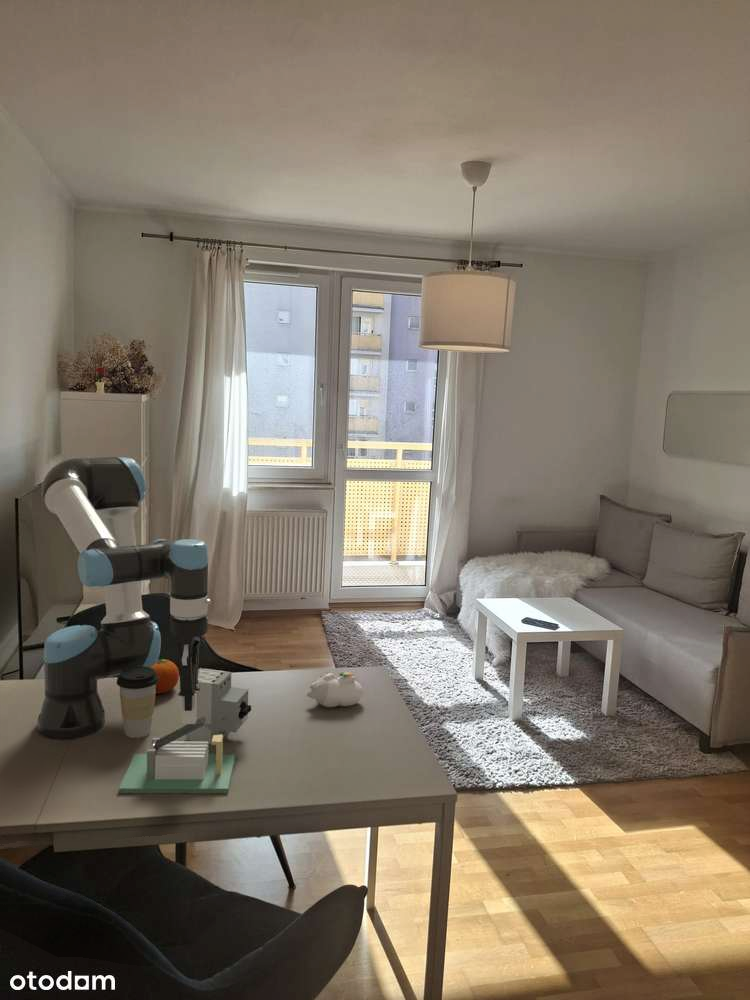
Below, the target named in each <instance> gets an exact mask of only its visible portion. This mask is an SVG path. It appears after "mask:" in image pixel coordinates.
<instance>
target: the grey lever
mask: <svg viewBox="0 0 750 1000" xmlns="http://www.w3.org/2000/svg"><path fill="white" fill-rule="evenodd" d="M205 720H206V719H205V717H204V716H203V717H201V718H199V719H198V720H196V723H195V724H188V725H186V726H185V725H183V726H182V727H180V728H179V729H176V730H174V731H173V732H170V733H169V734H166V735H164V736H163V737H159V738H160V739H158V740H157V741H156V740H154V741H153V742H152V741H151V745H150V747H149V749H156V750H157V749H159V748H161V747H163V746H164V745H166V744H168V743H170V742H172V741H176V740H178V739H180V738H181V737H184V736H186V734H188V733H190V732H192V731H194V730H196V729H198V728H200V727H202V726H204V723H205Z"/></svg>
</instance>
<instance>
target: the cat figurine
mask: <svg viewBox="0 0 750 1000" xmlns="http://www.w3.org/2000/svg"><path fill="white" fill-rule="evenodd" d="M338 675H339V677H337V676H336V675H335V674H334V673H332V672H330V673H329V672H326V673H325V674H324V675H321V676H320V677H319V678H318V679H317V680H316V681H315V682H313V683H311V684H309V687H310V690H309V691H307V693H306V696H307V697H309V698H311V699H313V700H315V702H317V703H318V704H319V705H321V706H323V707H325V708H336V707H350V706H353V705H355V704H357V703H358V702H359V701H360V700H361V698H362V697H363V695H364V689H363V687H362V685H361V684H360V683H359V682H358V681H357V680H356V676H355V674H354V673H352V672H349V671H345V672H340V673H338Z"/></svg>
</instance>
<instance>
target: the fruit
mask: <svg viewBox="0 0 750 1000" xmlns="http://www.w3.org/2000/svg"><path fill="white" fill-rule="evenodd" d="M151 668H152V669H154V670H155V673H156V674H157V675H158V679H159V680H158V682H157V683H156V687H155V690H156V693H155V694H164V693H167V692H169V691H171V690H173V689H174V688H175V687H176V686H177V684H178V682H179V680H180V676H179V667H178V666H177V665H176V664H175V663H174V662H173V661H171V660H169V659H166V658H165V659H164V658H161V659H160V658H158V659H157V662H156V663H155V665H154V666H152V667H151Z"/></svg>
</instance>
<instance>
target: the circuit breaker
mask: <svg viewBox="0 0 750 1000" xmlns="http://www.w3.org/2000/svg"><path fill="white" fill-rule="evenodd" d="M197 686H200V691H195V692H196V720H198V719H199V718H201V717H203V716H204V717H205V719H206V720H205V723H204V726H202V727H200V728H198V729H196V730H194V731H192V732H190V733H188V734H186V735H185V738H184V741H200V742H208V745H212V738H213V735H223V739H224V738H225V737H226V736H227V735H228V734H229V733H237V732H238V731H239V729H240V728H241V727H242V726H243V724H244V723H245V722H246V721H247V720H248V718H249V713H250V712H251V711H252V705H250V704H249V689H248V688H242V687H234V686H232V672H231V671H225V670H216V669H211V668H202V667H200V668H198V684H197ZM186 725H188V724H184V726H186Z"/></svg>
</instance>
